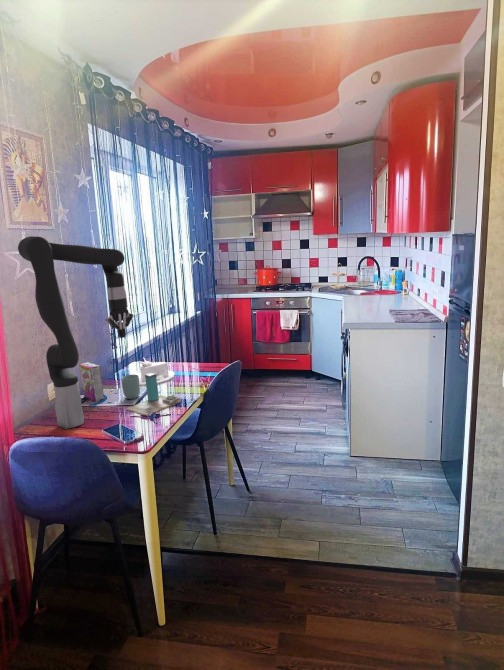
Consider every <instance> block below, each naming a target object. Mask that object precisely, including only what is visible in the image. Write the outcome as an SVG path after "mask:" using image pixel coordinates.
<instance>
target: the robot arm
mask: <svg viewBox="0 0 504 670" xmlns="http://www.w3.org/2000/svg"><path fill="white" fill-rule="evenodd" d="M17 250H18V253H19V255H20V257H22V258H23V259H24V260H26V261H27V262H28V261H29V262H30V264H31V267H32V270H33V272H34V277H35V292H34V293H35V302H36V307H37V310H38V313H39V315H40V318H41V319H42V321H43V323H44V324H45V325H46V326H47V328H49V330H50V331H51V332H52V333H53V335H54V337H55V338H56V342H57V343H55V344H52V345H50V346H49V347H48V349H47V350H46V355H45V356H46V357H45V358H46V359H45V360H46V365H47V368H48V373H49V377H50V378H49V379H50V380H51V382H52V383H53V388H54V394H55V395H54V396H55V400H56V401H55V402H56V403H54V410H55V415H56V416H55V417H56V422H57V426H58V427H59V428H63V429H65V430H67V429H72V428H76V427H79V426H81V425H83V424H84V423H85V417H84V411H83V404H82V398H81V392H80V391H81V390H80V385H79V377H78V375H77V374H76V373H75V372H73V371H71V370H70V369H73V368H75V367H76V366H77V365H78V363H79V360H80V353H79V349H78V346H77V343H76V340H75V338H74V335H73V334H72V333H73V332H72V330H71V326H70V324H69V319H68V316H67V314H66V313H67V312H66V307H65V303H64V299H63V296H62V292H61V289H60V286H59V281H58V279H57V278H58V277H57V273H56V270H55V269H56V268H55V262H54V261H63V262H69V263H75V264H83V265H95V266H97V265H101V267H102V271H103V274H104V275H105V278H106V279H105V280H106V289H107V290H106V291H107V293H106V294H107V299H108V300H107V301H108V308H109V311H110V312H109V316H108V317H107V318H105V321H106V322H107V323H108V324H109V325H110V326H111V328H113V329H115V330H117V334H118V335H117V336H118V338H120V339H123V338H125V337H126V328H127V327H129V326H130V324H131V321H132V319H133V318H134V314H133V313H130V312H129V309H128V299H127V298H128V297H127V290H126V287H125V281H124V280H125V279H124V275H123V273H122V272H120V270H119V268H118V267H119V266H122V265H123V264H124V262H125V254H124V253H123V252H122V251H121V250H119V249H115V248H103V247H102V248H100V247H94V246H89V245H88V246H87V245H79V244H78V245H77V244H63V243H61V244H60V243H56V242H49V241H48V240H47V239H46V238H45V237H42V236H26V237H23V239H21V240H20V241H19V242H18V246H17Z"/></svg>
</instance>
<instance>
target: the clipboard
mask: <svg viewBox="0 0 504 670" xmlns="http://www.w3.org/2000/svg"><path fill="white" fill-rule="evenodd" d="M158 397H159V400H157V401H155V402H150V401H148V399H147V400H145V401H142V402H140V403H137V404H134V405H132V406H130V407H127V408H126V411H129V412H133V413H136V414H138V415H141V416H145V415H146V417H148V415H149V414H151V413H154V412H156V413H158V412H160V410H161V411H163V410H165V409H168V408H170V407H172V406H175V405H177V404H180V403H181V402H182V400H181V397H180V396H176V395H175V399H173V400H168V398H167V396H165V395H161V394H159V395H158ZM162 409H163V410H162ZM157 411H158V412H157ZM154 414H155V413H154ZM151 415H152V414H151ZM149 416H150V415H149Z"/></svg>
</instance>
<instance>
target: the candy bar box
mask: <svg viewBox="0 0 504 670" xmlns="http://www.w3.org/2000/svg"><path fill="white" fill-rule="evenodd" d="M78 366H79V372H80V379H81V385H82V391H83V398H85V397H87V398H86V399H88V398H89V400H90V399H91V401H93V402H95V401H96V402H99V401H102V400H104V399H105V391H104V387H103V379H102V373H101V366H100V365H98V364H95V363H92V362H90V361H89V362H87V361H86V362H84V363H80V364H78ZM101 399H102V400H101Z"/></svg>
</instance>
